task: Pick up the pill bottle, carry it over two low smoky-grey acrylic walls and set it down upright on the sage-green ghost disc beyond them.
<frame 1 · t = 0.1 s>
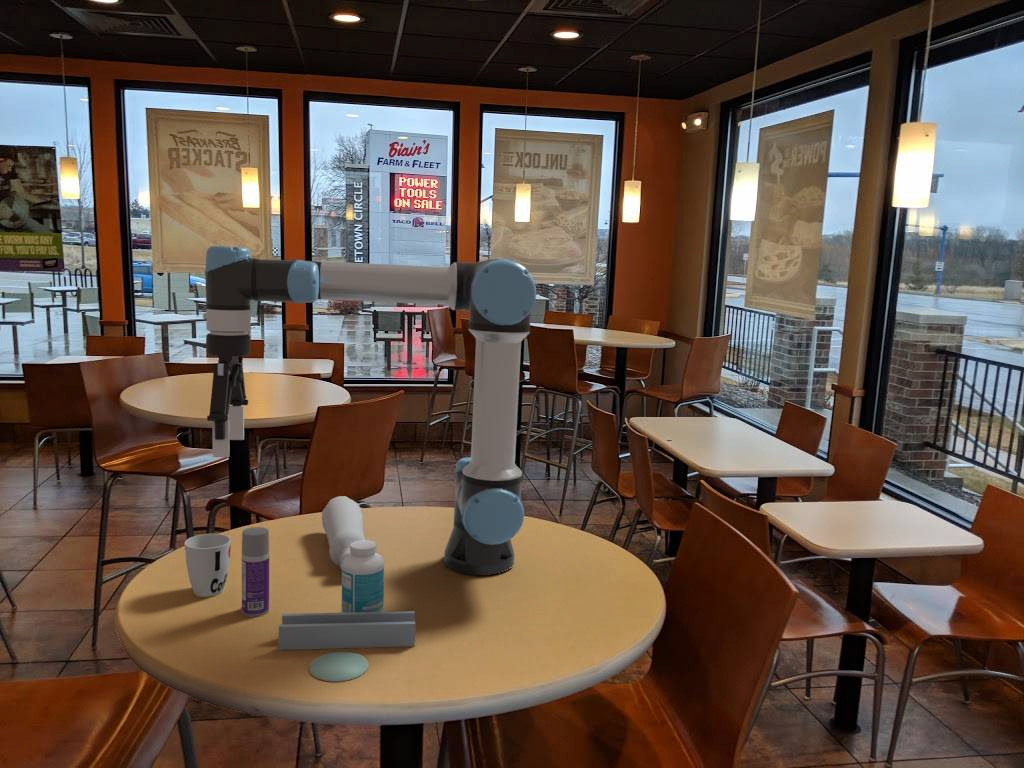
hand: (229, 447, 146), 28 cm above the table, fingers open, 13 cm apart
pill bottle: (362, 617, 142), on the table
cup: (208, 592, 150), on the table
wall 1: (347, 646, 131), on the table
spot: (339, 666, 124), on the table
container: (255, 612, 142), on the table
wall 2: (348, 635, 135), on the table
bottle: (343, 555, 172), on the table
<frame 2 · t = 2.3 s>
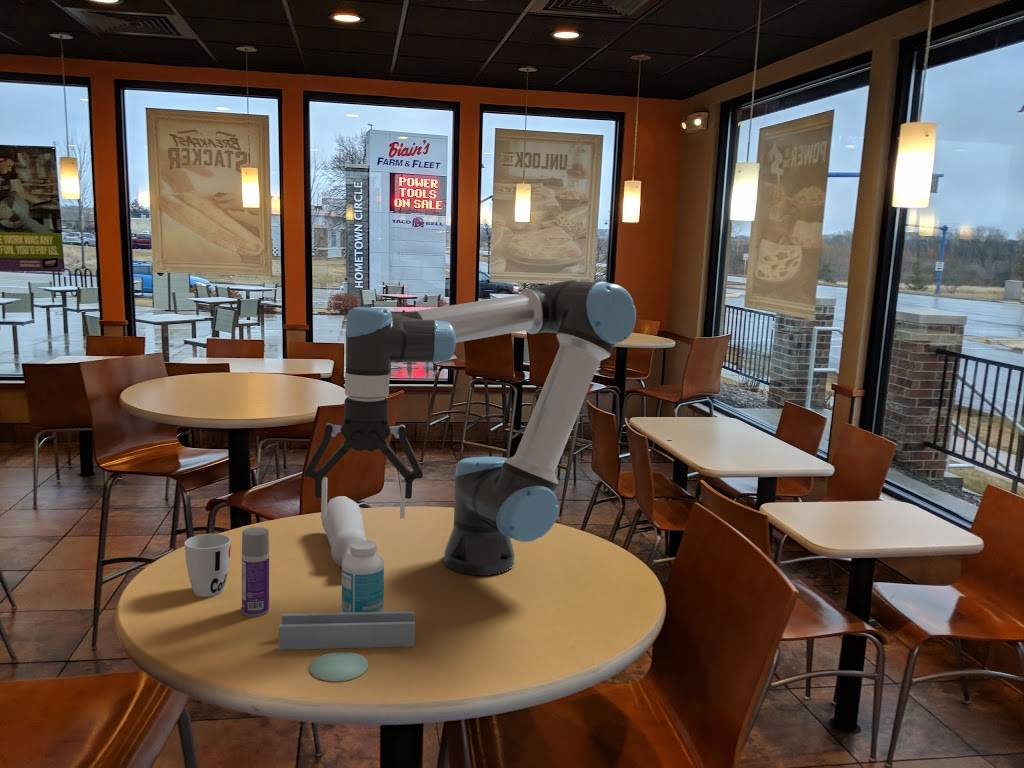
hand: (363, 515, 140), 19 cm above the table, fingers open, 13 cm apart
nothing on the table moved.
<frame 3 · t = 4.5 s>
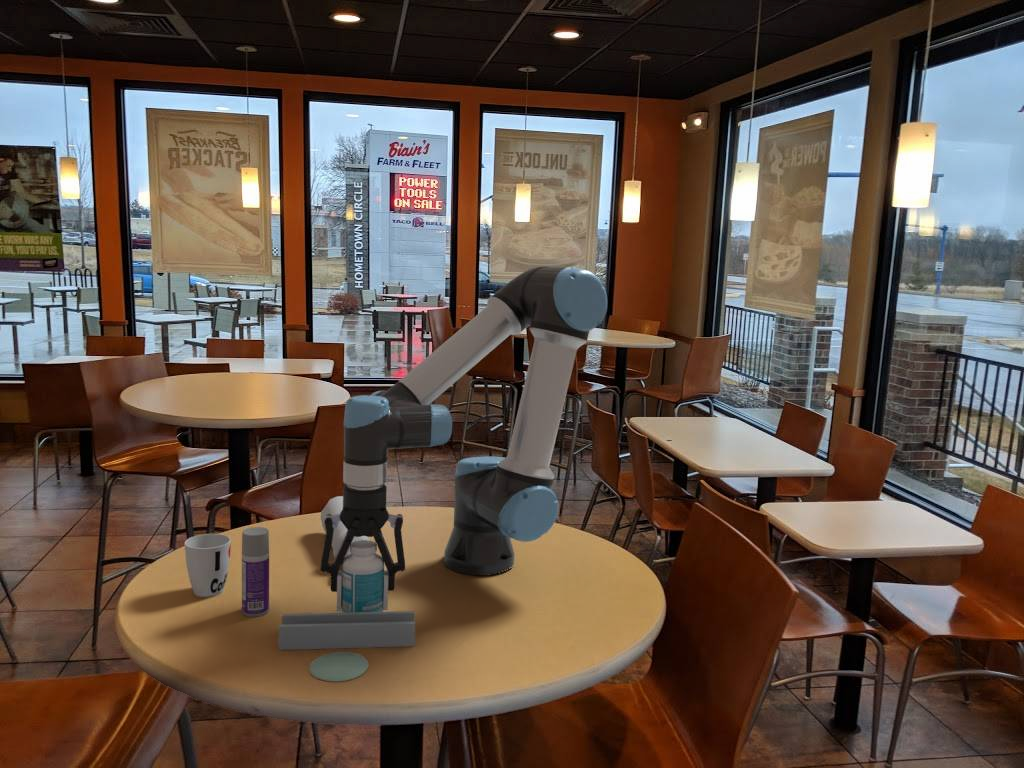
hand: (362, 607, 142), 2 cm above the table, fingers closed on pill bottle, 7 cm apart
pill bottle: (362, 617, 142), on the table, touching gripper
everything else where it was.
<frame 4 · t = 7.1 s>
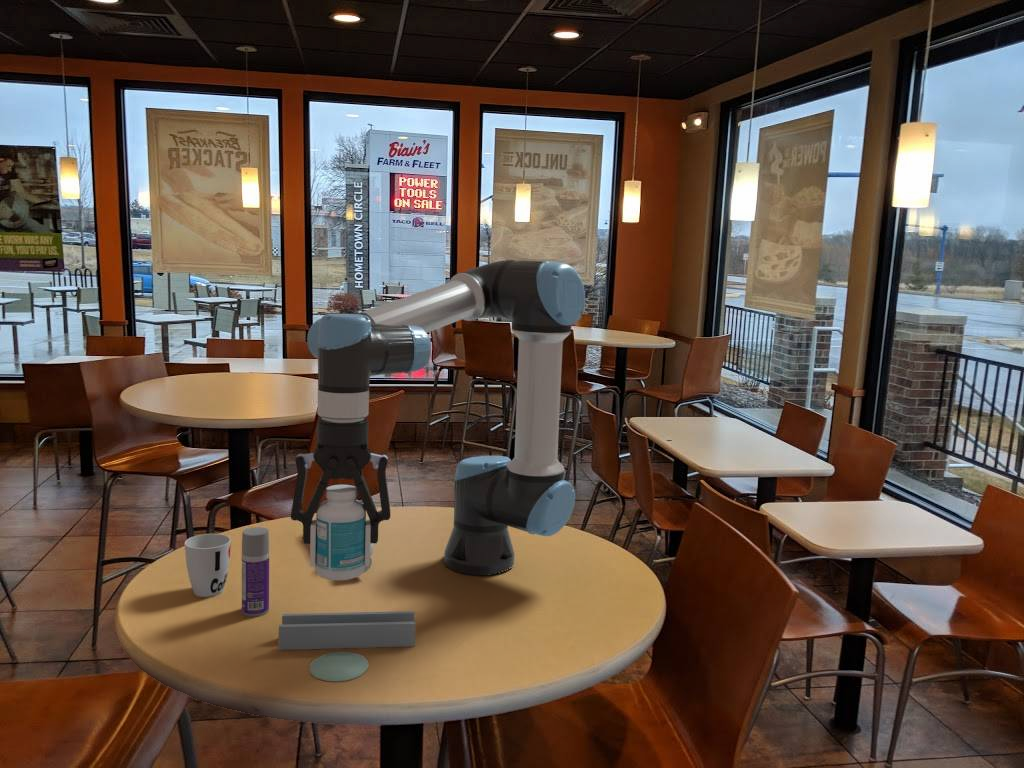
hand: (340, 562, 122), 17 cm above the table, fingers closed on pill bottle, 7 cm apart
pill bottle: (340, 574, 122), point 15 cm above the table, touching gripper
everything else where it was.
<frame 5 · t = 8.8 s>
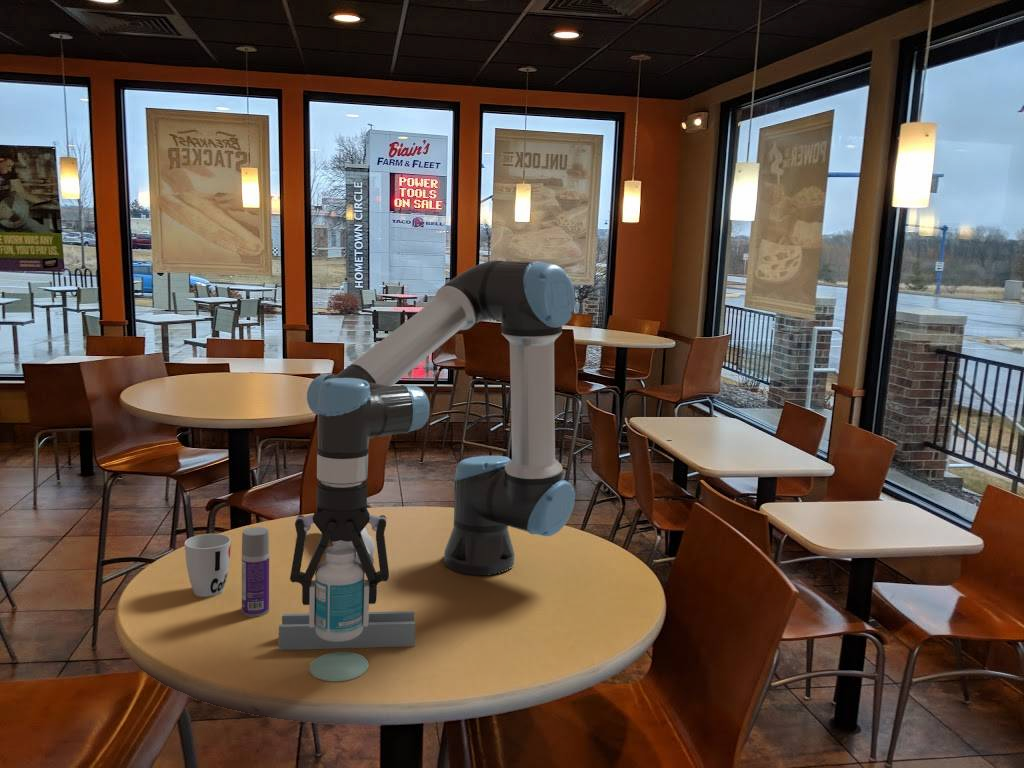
hand: (339, 622, 123), 7 cm above the table, fingers closed on pill bottle, 7 cm apart
pill bottle: (339, 634, 123), point 6 cm above the table, touching gripper
when the fingers open (3 cm above the table, at t = 10.1 s): pill bottle drops 1 cm, resting on spot.
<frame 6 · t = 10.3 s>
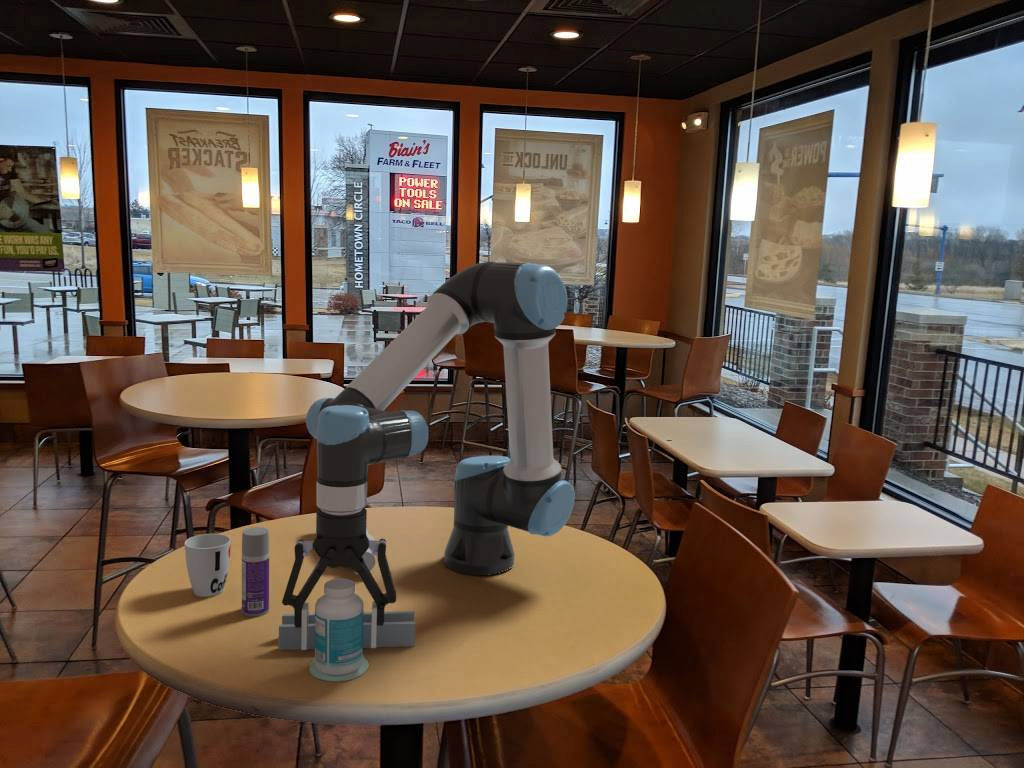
hand: (339, 644, 124), 4 cm above the table, fingers open, 10 cm apart
pill bottle: (338, 666, 124), resting on spot
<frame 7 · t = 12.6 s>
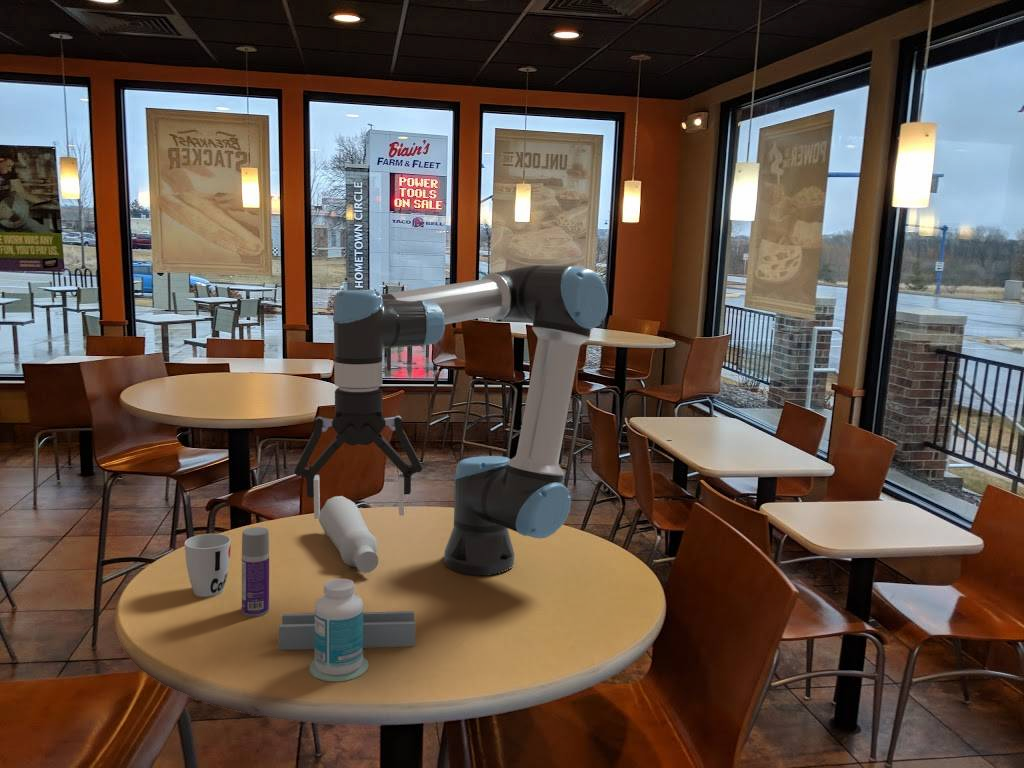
hand: (359, 514, 130), 22 cm above the table, fingers open, 13 cm apart
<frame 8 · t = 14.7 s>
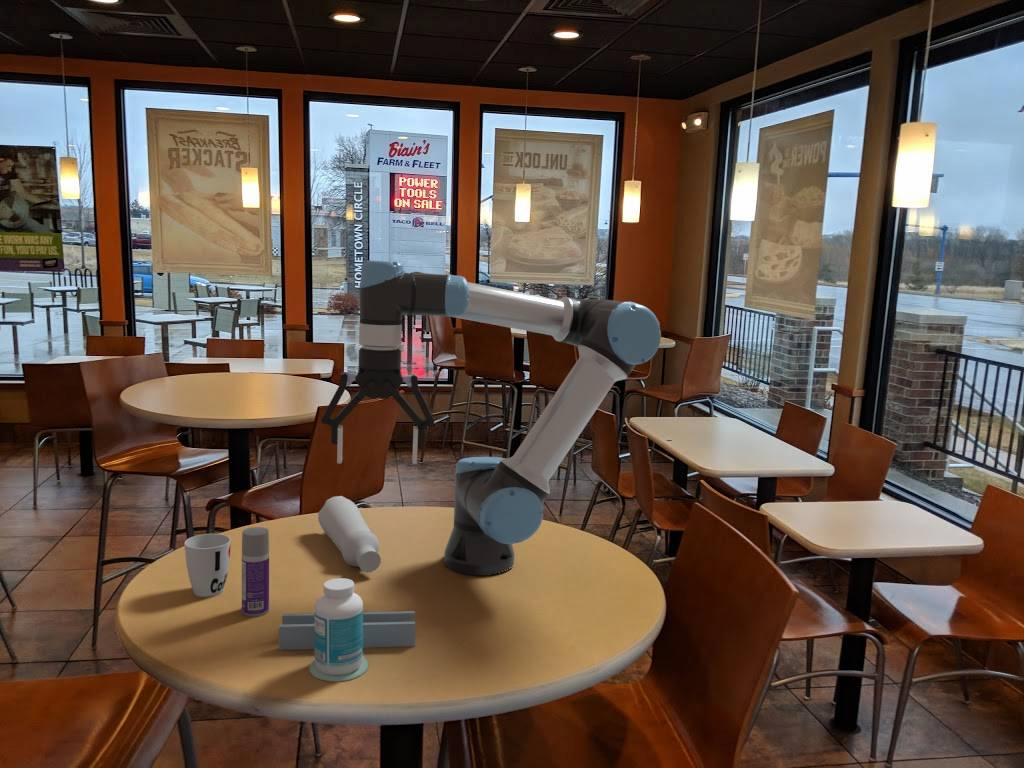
hand: (377, 462, 146), 27 cm above the table, fingers open, 13 cm apart
at the end: pill bottle inside the target area on the spot (0.1 cm from its centre), point 0.0 cm above the spot's base; pill bottle tilted 0°; the gripper is holding nothing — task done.
